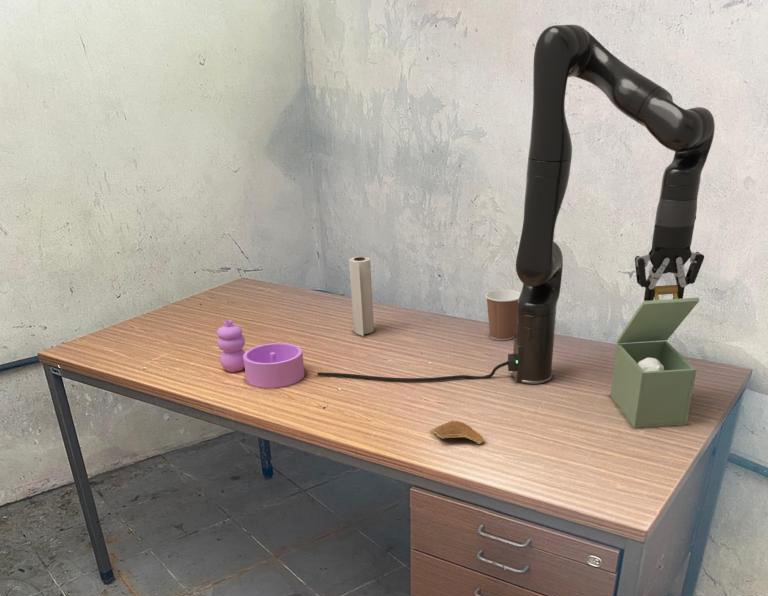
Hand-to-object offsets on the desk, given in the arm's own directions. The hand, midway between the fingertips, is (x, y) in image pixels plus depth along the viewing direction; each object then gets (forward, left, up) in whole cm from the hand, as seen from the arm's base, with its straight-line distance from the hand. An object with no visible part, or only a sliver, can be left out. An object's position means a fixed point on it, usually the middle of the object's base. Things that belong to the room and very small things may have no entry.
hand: (662, 304), depth 161 cm
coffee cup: (-24, +53, -25) cm, 63 cm away
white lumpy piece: (0, -4, -21) cm, 21 cm away
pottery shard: (-45, -8, -25) cm, 51 cm away
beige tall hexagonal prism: (-64, +64, -25) cm, 94 cm away
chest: (0, 0, -24) cm, 24 cm away
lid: (0, +2, -5) cm, 5 cm away
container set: (-92, +36, -25) cm, 101 cm away
